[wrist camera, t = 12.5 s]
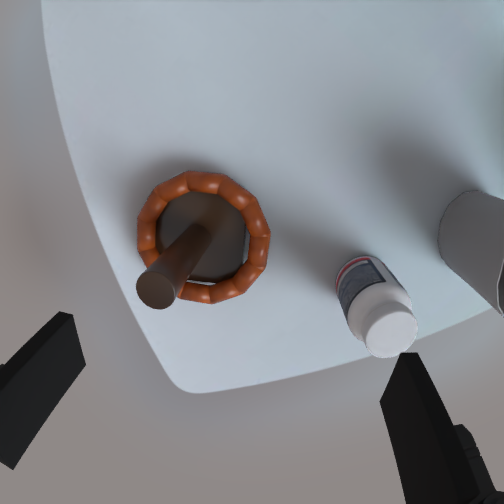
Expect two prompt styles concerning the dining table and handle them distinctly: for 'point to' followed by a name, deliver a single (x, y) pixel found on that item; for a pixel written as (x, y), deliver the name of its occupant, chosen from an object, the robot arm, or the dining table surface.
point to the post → (193, 247)
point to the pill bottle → (376, 306)
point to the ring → (236, 198)
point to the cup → (476, 243)
